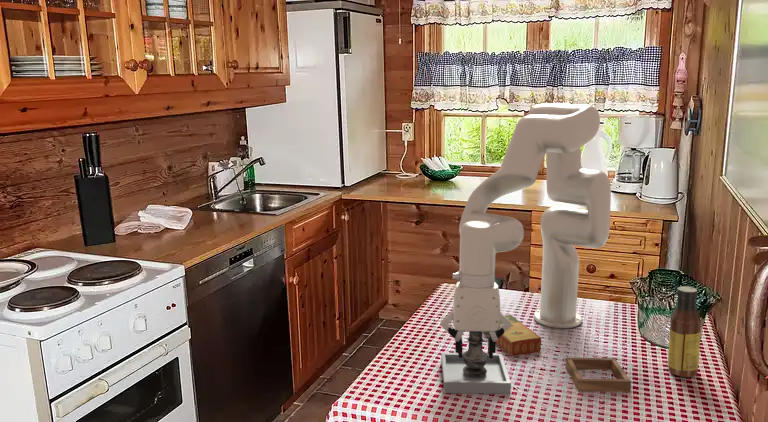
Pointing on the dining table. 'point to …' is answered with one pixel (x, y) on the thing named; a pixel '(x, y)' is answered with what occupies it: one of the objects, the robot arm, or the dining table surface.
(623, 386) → the wooden square frame
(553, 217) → the robot arm
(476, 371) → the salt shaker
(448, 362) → the tray
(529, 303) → the dining table surface
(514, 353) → the carton
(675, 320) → the sauce bottle
